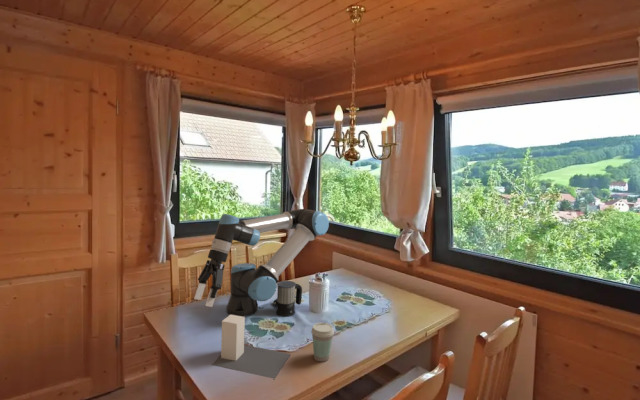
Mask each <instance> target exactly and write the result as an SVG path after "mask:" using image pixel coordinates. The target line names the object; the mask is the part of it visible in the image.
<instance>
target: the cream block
mask: <svg viewBox="0 0 640 400" xmlns="http://www.w3.org/2000/svg"><path fill="white" fill-rule="evenodd" d="M245 317H246V316H236V315H230V314H228V316H227V317H225V318H224V319H223V320H221V348H220V350H221V353H220V356H221V358H225V359H229V360H234V361H236V360H237V359H238V358H239V357H240V356H241V355H242V354H243V353H244V345H245V326H246V325H245V323H246V321H245V320H246V318H245Z"/></svg>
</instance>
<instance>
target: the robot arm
mask: <svg viewBox="0 0 640 400" xmlns="http://www.w3.org/2000/svg"><path fill="white" fill-rule="evenodd" d="M329 225H330V221H329V217H328V215H326V213H325V212H321V211H320V210H313V209H307V208H298V209H293V210H287V211H284V212H283V213H282V214H275V215H268V216H263V217H257V218H251V219H244V220H240V219H239V217H237V216H235V215H233V214H228V213H224V214H221V217H220V219H219V221H218V225H217V229H216V232H215V234H214V238H213V240H212V241H211V243H212V244H211V249H209V253H208V254H207V258H208V259H207V260H206V263H205V264H204V267H203V269H202V271H201V272H200V275H199V277H198V278H197V281H198V285H197V288H196V291H195V293H194V297H193V299H194V300H198V301H199V300H200V301H201V300H202V298H203V294H204V291H205V288H206V285H207V283H208V282H207V281H208V280H209V279H210V278H211V286H210V288H209V292H208V295H207V297H206V300H205V301H206V302H205V304H204V306H206V307H210V308H213V306H214V302H215V300H216V296H217V293H218V291H219V290H222V286H223V285H222V284H223V278H224V277H223V275H224V270H225V264H223V263H226V262H227V259H228V256H229V254H228V253H230V250H231V248H232V244H233V241H236V242H237V243H238V242H239V243H241V244H245V245H247V246H252V247H253V246H256V245H257V244H258V243H259V241H260V239H261V234H262V233H267V232H272V231H278V230H283V229H286V230H295V231H294V232H293V233H292V234H291V235H290V236H289V237H288V238H287V239H286V240H285V242H283V244H282V245H281V246H279V248H278V249H277V250H276V251H275V253H274V254H273V255H272V256H271V257H270V258H269V259H268V261H266V263H265V264H260V265H259V266H258V267H256V264H255V263H250V262H249V263H248V262H247V263H246V262H245V263H238V264H234V265H232V267H231V269H230V296H229V298H228V302H227V305H226V313H227V314H228V315H236V316H242V317H249V316H251V315H254V314H256V313H257V312H258V310H259V304H258V302H266V301H268V300H270V299H271V298H273V296H274V295H275V294H276V291H277V290H276V289H278V285H277V283H278V282H280V281H279V276H281V275H282V273H283V272H284V271H285V269H286V268H287V267H288V266H289V265H290V264H291V263H292V262H293V260H295V258H296V257H297V255H298V254H300V252H301V251H302V250H303V248H305V246H306V245H307V244H308V243H309V242H310V241H314V240H315V239H316V238H317V237H318V236H323V235H326V233H327V231H328V229H329ZM209 259H210V260H209Z"/></svg>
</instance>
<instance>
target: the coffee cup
mask: <svg viewBox="0 0 640 400" xmlns="http://www.w3.org/2000/svg"><path fill="white" fill-rule="evenodd" d="M311 334H312V350H313V351H312V352H313V358H314V360H315V361H318V362H326V361H328V360H329V359H330V355H331V354H330V353H331V348H332V343H333V337H334V334H335V331H334V328H333V325H331V324H330V323H326V322H316V323H315V324H314V325H313V326H312V328H311Z"/></svg>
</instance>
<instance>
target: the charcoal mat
mask: <svg viewBox="0 0 640 400" xmlns="http://www.w3.org/2000/svg"><path fill="white" fill-rule="evenodd" d="M290 357H291V353H288V352H283V351H278V350H274V349H273V350H272V349H268V348H263V347H257V346H253V345H247V344H244V353H243V354H242V355H241V356H240V357H239V358H238V359H237V360H236V361H234V360H229V359H225V358H221V355H220V356H218V357H217V358H216V360H214V361H213V362H212V363H211V366H214V367H219V368H224V369H228V370H234V371H237V372H243V373H247V374H251V375H255V376H256V375H257V376H261V377H266V378H270V379H273V380H275V379H276V378H277V376H278V375H279V373H280V372H281V370H282V369H283V368H284V366H285V365H286V363H287V361H289V358H290Z"/></svg>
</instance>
